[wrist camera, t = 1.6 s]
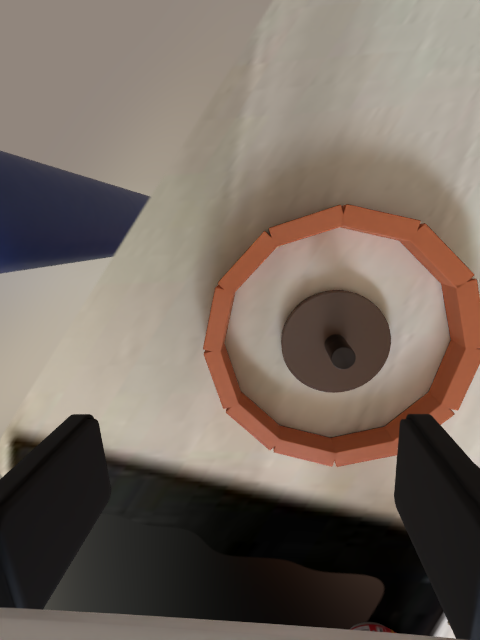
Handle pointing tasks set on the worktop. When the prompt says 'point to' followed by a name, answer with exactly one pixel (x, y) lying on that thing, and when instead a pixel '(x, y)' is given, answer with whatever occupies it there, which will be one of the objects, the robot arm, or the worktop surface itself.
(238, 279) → the ring
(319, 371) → the ring post
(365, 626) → the soda can
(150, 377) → the worktop surface
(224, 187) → the worktop surface
